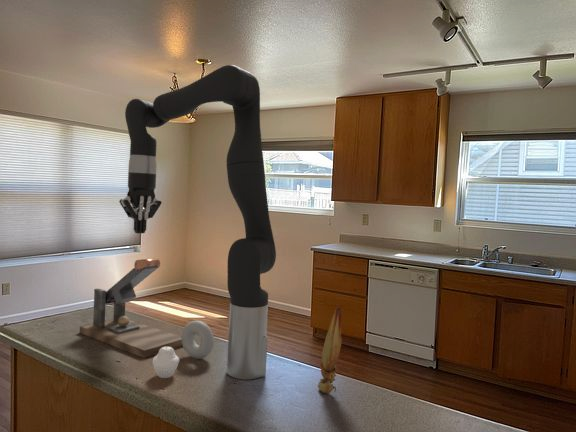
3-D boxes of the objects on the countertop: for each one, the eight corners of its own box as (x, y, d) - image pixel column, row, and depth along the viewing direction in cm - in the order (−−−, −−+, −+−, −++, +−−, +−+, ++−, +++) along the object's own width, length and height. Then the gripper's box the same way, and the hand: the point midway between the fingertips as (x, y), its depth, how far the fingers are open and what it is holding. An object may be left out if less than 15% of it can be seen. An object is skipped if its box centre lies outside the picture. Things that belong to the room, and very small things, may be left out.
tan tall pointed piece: (332, 403, 96) (337, 311, 95) (309, 397, 98) (315, 307, 97) (341, 391, 102) (347, 304, 102) (320, 386, 105) (325, 301, 104)
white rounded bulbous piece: (184, 375, 107) (185, 346, 106) (163, 383, 101) (165, 352, 101) (166, 368, 110) (167, 340, 110) (146, 375, 105) (147, 346, 105)
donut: (177, 356, 119) (179, 318, 118) (186, 352, 122) (188, 315, 121) (207, 364, 114) (209, 325, 113) (215, 360, 117) (217, 322, 116)
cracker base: (185, 345, 127) (187, 299, 127) (144, 358, 116) (146, 308, 115) (120, 323, 144) (122, 283, 144) (79, 332, 133) (81, 289, 132)
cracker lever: (165, 275, 126) (157, 256, 128) (146, 278, 121) (138, 258, 123) (120, 310, 138) (114, 292, 140) (101, 314, 133) (95, 295, 135)
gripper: (130, 170, 119) (127, 235, 120) (169, 174, 130) (167, 233, 131) (113, 170, 124) (111, 232, 124) (153, 173, 135) (150, 231, 135)
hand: (139, 233), depth 128 cm, fingers closed
